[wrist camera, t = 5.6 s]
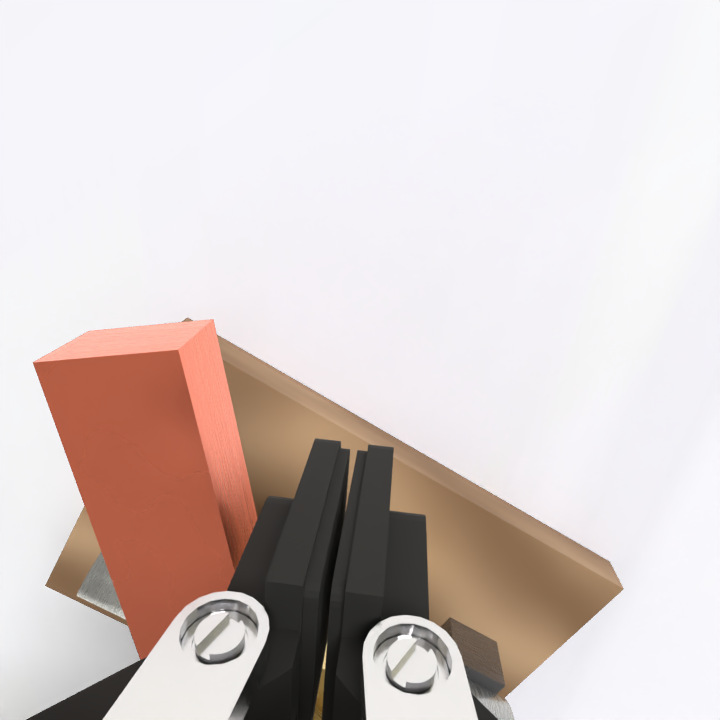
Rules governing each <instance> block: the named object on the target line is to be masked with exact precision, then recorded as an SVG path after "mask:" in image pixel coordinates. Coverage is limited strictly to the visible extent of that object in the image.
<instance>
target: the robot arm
mask: <svg viewBox="0 0 720 720" xmlns="http://www.w3.org/2000/svg"><path fill="white" fill-rule="evenodd" d="M393 454H394V447H388V446H379V445H370V444H369V445H368V450H367V451H362V450H357V455H356V460H355V466H354V471H353V476H352V481H351V487H350V492H349V497H348V502H347V507H346V500H347V487H348V474H349V461H350V449H345V448H341V441H335V440H327V439H318V438H315V440H314V443H313V445H312V448H311V451H310V454H309V457H308V460H307V463H306V465H305V468H304V471H303V474H302V477H301V480H300V483H299V485H298V488H297V491H296V494H295V497H294V499H292V498H284V497H276V496H269V497H267V499H266V501H265V503H264V505H263V508H262V510H261V512H260V515H259V517H258V519H257V522H256V524H255V526H254V529H253V531H252V533H251V535H250V538H249V540H248V542H247V545H246V547H245V549H244V552H243V554H242V556H241V559H240V561H239V563H238V566H237V568H236V570H235V573H234V575H233V577H232V580H231V582H230V584H229V587H228V589H227V591H223V592H215V593H211V594H208V595H205V596H202V597H200V598H198V599H196V600H195V601H193V602H191V603H190V604H188V605H187V606H186V607H185V608H184V609H183V610H182V611H181V612H180V613H179V614H178V615H177V616H176V617H175V619H174V620H173V621H172V623H171V624H170V626H169V627H168V628H167V630H166V631H165V633H164V634H163V635H162V637H161V638H160V640H159V641H158V643H157V644H156V645H155V647H154V648H153V650H152V651H151V652H150V654H149V655H148V656H147V657H146V658H144V659H142V660H140V661H138V662H136V663H134V664H132V665H130V666H128V667H126V668H124V669H123V670H121V671H119V672H117V673H115V674H113V675H111V676H109V677H107V678H105V679H103V680H101V681H99V682H98V683H96V684H94V685H92V686H90V687H88V688H86V689H84V690H82V691H80V692H78V693H76V694H75V695H73V696H71V697H69V698H67V699H65V700H63V701H61V702H59V703H57V704H55V705H53V706H51V707H50V708H48V709H46V710H44V711H42V712H40V713H38V714H36V715H34V716H32V717H30V718H28V719H27V720H313V717H314V712H315V706H316V701H317V695H318V689H319V684H320V678H321V673H322V667H323V662H324V656H325V650H326V645H327V650H326V665H325V679H324V693H323V707H322V720H498V719H497V718H496V717H495V716H494V715H493V714H492V713H491V712H490V711H489V710H488V709H487V708H486V707H485V706H484V705H483V704H482V703H481V702H480V701H479V700H478V699H477V698H476V697H475V696H474V695H473V694H472V693H471V691H470V687H469V683H468V679H467V675H466V671H465V668H464V664H463V660H462V656H461V654H460V652H459V649H458V647H457V645H456V643H455V642H454V640H453V639H452V638H451V637H450V635H449V634H448V633H447V632H446V631H445V630H443V629H442V628H441V627H439V626H438V625H437V624H435V623H434V622H431V621H429V593H428V563H427V532H426V516H425V515H423V514H415V513H406V512H398V511H390V497H391V483H392V468H393ZM345 512H346V513H345Z"/></svg>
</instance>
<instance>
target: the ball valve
mask: <svg viewBox="0 0 720 720" xmlns="http://www.w3.org/2000/svg"><path fill="white" fill-rule="evenodd" d="M77 596H78V597H80V598H82V599H84V600H86V601H88V602H90V603H92V604H94V605H96V606H99V607H101V608H103V609H105V610H107V611H109V612H111V613H113V614H115V615H117V616H119V617H121V618H123V619H125V620H126V618H125V616H124V613H123V610H122V607H121V605H120V602H119V599H118V596H117V594H116V591H115V588H114V585H113V582H112V580H111V577H110V574H109V571H108V569H107V566H106V563H105V560H104V558H103V555H102V552H101V553H100V554H99V556H98V558H97V559H96V561H95V562H94V564H93V566H92V567H91V569H90V571H89V572H88V574H87V576H86V577H85V579H84V581H83V583H82V585H81V587H80V588H79V591H78V593H77ZM441 628H442V629H443V630H445V631H446V632H447V633H448V634H449V635H450V637H451V638H452V639H453V640H454V642H455V643H456V645H457V647H458V649H459V652H460V654H461V656H462V660H463V664H464V668H465V671H466V675H467V679H468V683H469V687H470V691H471V693H472V694H473V695H474V696H475V697H476V698H477V699H478V700H479V701H480V702H481V703H482V704H483V705H484V706H485V707H486V708H487V709H488V710H489V711H490V712H491V713H492V714H493V715H494V716H495V717H496V718H497V719H498V720H514V717H513V713H512V710H511V707H510V705H509V703H508V702H507V701H506V699H505V698H503V697H502V696H500V695H498V694H497V693H499V692H500V691H501V690H502V689H503V688H504V687H505V681H504V676H503V671H502V666H501V661H500V656H499V651H498V646H497V642H496V641H494V640H492V639H490V638H489V637H487V636H485V635H483V634H481V633H479V632H477V631H475V630H474V629H472V628H470V627H468V626H466V625H464V624H462V623H460V622H459V621H457V620H455V619H453V618H451V617H449V618H448V620H447V621H446V622H445V623H444V624H443V625H442V626H441ZM326 650H327V645H326ZM326 650H325V656H324V662H323V667H322V673H321V678H320V684H319V689H318V695H317V701H316V706H315V712H314V717H313V720H322V707H323V693H324V679H325V665H326Z"/></svg>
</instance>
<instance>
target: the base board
mask: <svg viewBox="0 0 720 720" xmlns="http://www.w3.org/2000/svg"><path fill="white" fill-rule="evenodd" d="M190 321H192V320H191V319H189V318H186V319H185V320H184V321H182V322H190ZM217 338H218V343H219V347H220V352H221V356H222V361H223V365H224V370H225V374H226V379H227V383H228V388H229V392H230V396H231V401H232V405H233V410H234V414H235V419H236V423H237V428H238V432H239V437H240V441H241V446H242V450H243V455H244V459H245V464H246V468H247V472H248V477H249V481H250V486H251V490H252V495H253V499H254V504H255V508H256V513H257V517H259V515H260V512H261V510H262V508H263V505H264V503H265V501H266V499H267V497H269V496H276V497H284V498H292V499H294V497H295V494H296V491H297V488H298V485H299V483H300V480H301V477H302V474H303V471H304V468H305V465H306V463H307V460H308V457H309V454H310V451H311V448H312V445H313V443H314V440H315V438H318V439H327V440H335V441H341V448H345V449H350V461H349V474H348V487H347V500H346V507H347V502H348V497H349V492H350V487H351V481H352V476H353V471H354V466H355V460H356V455H357V450H362V451H367V450H368V445H369V444H370V445H379V446H388V447H394V454H393V468H392V483H391V497H390V511H398V512H406V513H415V514H423V515H425V516H426V532H427V563H428V593H429V621H431V622H434V623H435V624H437V625H438V626H439V627H441V626H442V625H443V624H444V623H445V622H446V621H447V620H448V618H449V617H451V618H453V619H455V620H457V621H459V622H460V623H462V624H464V625H466V626H468V627H470V628H472V629H474V630H475V631H477V632H479V633H481V634H483V635H485V636H487V637H489V638H490V639H492V640H494V641H496V642H497V646H498V651H499V656H500V661H501V666H502V671H503V676H504V681H505V687H504V688H503V689H502V690H501V691H500V692H499V693H497V694H498V695H500V696H502V697H503V698H505V697H506V696H507V695H508V694H509V693H510V692H511V691H512V690H513V689H515V688H516V687H517V686H518V685H519V684H520V683H521V682H522V681H523V680H524V679H525V678H527V677H528V676H529V675H530V674H531V673H532V672H533V671H534V670H535V669H536V668H538V667H539V666H540V665H541V664H542V663H543V662H544V661H545V660H546V659H547V658H549V657H550V656H551V655H552V654H553V653H554V652H555V651H556V650H557V649H558V648H559V647H561V646H562V645H563V644H564V643H565V642H566V641H567V640H568V639H569V638H570V637H572V636H573V635H574V634H575V633H576V632H577V631H578V630H579V629H580V628H581V627H583V626H584V625H585V624H586V623H587V622H588V621H589V620H590V619H591V618H592V617H593V616H595V615H596V614H597V613H598V612H599V611H600V610H601V609H602V608H603V607H604V606H606V605H607V604H608V603H609V602H610V601H611V600H612V599H613V598H614V597H615V596H617V595H618V594H619V593H620V592H621V591H622V590H623V587H622V585H621V583H620V581H619V579H618V577H617V575H616V573H615V571H614V569H613V567H612V565H611V564H610V562H609V561H607V560H606V559H604V558H602V557H600V556H599V555H597V554H595V553H594V552H592V551H590V550H588V549H587V548H585V547H583V546H581V545H580V544H578V543H576V542H575V541H573V540H571V539H569V538H568V537H566V536H564V535H562V534H561V533H559V532H557V531H556V530H554V529H552V528H550V527H549V526H547V525H545V524H543V523H542V522H540V521H538V520H536V519H535V518H533V517H531V516H530V515H528V514H526V513H524V512H523V511H521V510H519V509H517V508H516V507H514V506H512V505H511V504H509V503H507V502H505V501H504V500H502V499H500V498H498V497H497V496H495V495H493V494H492V493H490V492H488V491H486V490H485V489H483V488H481V487H479V486H478V485H476V484H474V483H472V482H471V481H469V480H467V479H466V478H464V477H462V476H460V475H459V474H457V473H455V472H453V471H452V470H450V469H448V468H447V467H445V466H443V465H441V464H440V463H438V462H436V461H434V460H433V459H431V458H429V457H428V456H426V455H424V454H422V453H421V452H419V451H417V450H415V449H414V448H412V447H410V446H408V445H407V444H405V443H403V442H402V441H400V440H398V439H396V438H395V437H393V436H391V435H389V434H388V433H386V432H384V431H383V430H381V429H379V428H377V427H376V426H374V425H372V424H370V423H369V422H367V421H365V420H364V419H362V418H360V417H358V416H357V415H355V414H353V413H351V412H350V411H348V410H346V409H345V408H343V407H341V406H339V405H338V404H336V403H334V402H332V401H331V400H329V399H327V398H325V397H324V396H322V395H320V394H319V393H317V392H315V391H313V390H312V389H310V388H308V387H306V386H305V385H303V384H301V383H300V382H298V381H296V380H294V379H293V378H291V377H289V376H287V375H286V374H284V373H282V372H281V371H279V370H277V369H275V368H274V367H272V366H270V365H268V364H267V363H265V362H263V361H261V360H260V359H258V358H256V357H255V356H253V355H251V354H249V353H248V352H246V351H244V350H242V349H241V348H239V347H237V346H236V345H234V344H232V343H230V342H229V341H227V340H225V339H223V338H222V337H220V336H218V335H217ZM345 513H346V512H345ZM100 553H101V549H100V547H99V544H98V541H97V538H96V535H95V533H94V530H93V527H92V524H91V522H90V519H89V516H88V513H87V511H86V508H85V506H84V508H83V510H82V512H81V514H80V516H79V518H78V520H77V522H76V524H75V526H74V528H73V530H72V532H71V534H70V536H69V538H68V540H67V543H66V545H65V547H64V549H63V551H62V553H61V555H60V557H59V559H58V561H57V563H56V565H55V567H54V569H53V571H52V573H51V575H50V577H49V579H48V581H47V583H46V585H45V586H47V587H49V588H51V589H53V590H55V591H57V592H59V593H61V594H63V595H65V596H67V597H70V598H72V599H74V600H76V601H78V602H80V603H82V604H84V605H86V606H88V607H90V608H92V609H94V610H96V611H99V612H101V613H103V614H105V615H107V616H109V617H111V618H113V619H115V620H117V621H119V622H121V623H123V624H125V625H127V626H128V624H127V621H126V620H125V619H123V618H121V617H119V616H117V615H115V614H113V613H111V612H109V611H107V610H105V609H103V608H101V607H99V606H96V605H94V604H92V603H90V602H88V601H86V600H84V599H82V598H80V597H78V596H77V593H78V591H79V588H80V587H81V585H82V583H83V581H84V579H85V577H86V576H87V574H88V572H89V571H90V569H91V567H92V566H93V564H94V562H95V561H96V559H97V558H98V556H99V554H100Z"/></svg>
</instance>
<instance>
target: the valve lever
mask: <svg viewBox="0 0 720 720" xmlns="http://www.w3.org/2000/svg"><path fill="white" fill-rule="evenodd" d="M33 364H34V367H35V370H36V372H37V375H38V378H39V381H40V384H41V386H42V389H43V392H44V395H45V397H46V400H47V403H48V406H49V408H50V411H51V414H52V417H53V419H54V422H55V425H56V428H57V431H58V433H59V436H60V439H61V442H62V444H63V447H64V450H65V453H66V455H67V458H68V461H69V464H70V466H71V469H72V472H73V475H74V477H75V480H76V483H77V486H78V489H79V491H80V494H81V497H82V500H83V502H84V505H85V508H86V511H87V513H88V516H89V519H90V522H91V524H92V527H93V530H94V533H95V535H96V538H97V541H98V544H99V547H100V549H101V552H102V555H103V558H104V560H105V563H106V566H107V569H108V571H109V574H110V577H111V580H112V582H113V585H114V588H115V591H116V594H117V596H118V599H119V602H120V605H121V607H122V610H123V613H124V616H125V618H126V621H127V624H128V627H129V629H130V632H131V635H132V638H133V640H134V643H135V646H136V649H137V652H138V654H139V657H140V660H142V659H144V658H146V657H147V656H148V655H149V654H150V652H151V651H152V650H153V648H154V647H155V645H156V644H157V643H158V641H159V640H160V638H161V637H162V635H163V634H164V633H165V631H166V630H167V628H168V627H169V626H170V624H171V623H172V621H173V620H174V619H175V617H176V616H177V615H178V614H179V613H180V612H181V611H182V610H183V609H184V608H185V607H186V606H187V605H188V604H190V603H191V602H193V601H195V600H196V599H198V598H200V597H202V596H205V595H208V594H211V593H215V592H223V591H227V589H228V587H229V584H230V582H231V580H232V577H233V575H234V573H235V570H236V568H237V566H238V563H239V561H240V559H241V556H242V554H243V552H244V549H245V547H246V545H247V542H248V540H249V538H250V535H251V533H252V531H253V529H254V526H255V524H256V522H257V519H258V517H257V513H256V508H255V504H254V499H253V495H252V490H251V486H250V481H249V477H248V472H247V468H246V464H245V459H244V455H243V450H242V446H241V441H240V437H239V432H238V428H237V423H236V419H235V414H234V410H233V405H232V401H231V396H230V392H229V388H228V383H227V379H226V374H225V370H224V365H223V361H222V356H221V352H220V347H219V343H218V338H217V334H216V329H215V325H214V320H213V319H211V320H200V321H190V322H179V323H168V324H158V325H147V326H136V327H126V328H115V329H104V330H94V331H88V332H86V333H85V334H83V335H81V336H79V337H77V338H76V339H74V340H72V341H70V342H69V343H67V344H65V345H63V346H61V347H60V348H58V349H56V350H54V351H52V352H51V353H49V354H47V355H45V356H44V357H42V358H40V359H38V360H36V361H35V362H33Z"/></svg>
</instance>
